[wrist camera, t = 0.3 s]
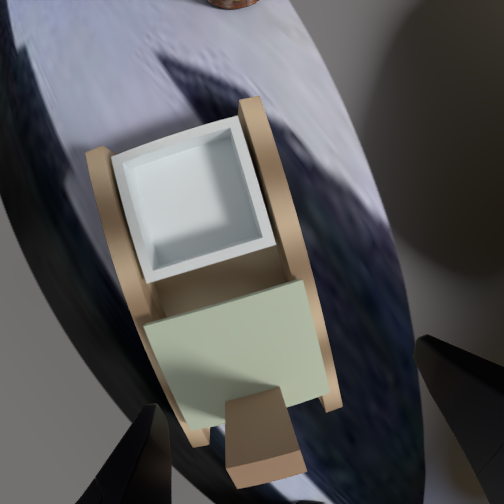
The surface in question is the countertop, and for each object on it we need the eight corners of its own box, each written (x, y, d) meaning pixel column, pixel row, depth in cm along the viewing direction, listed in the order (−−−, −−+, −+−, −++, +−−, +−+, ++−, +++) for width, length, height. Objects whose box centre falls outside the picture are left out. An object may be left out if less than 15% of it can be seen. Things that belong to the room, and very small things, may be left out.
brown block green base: (327, 388, 21) (364, 450, 14) (191, 426, 21) (182, 496, 13) (300, 278, 20) (340, 310, 13) (145, 323, 20) (107, 375, 12)
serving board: (335, 380, 26) (350, 403, 22) (189, 420, 26) (185, 448, 22) (262, 112, 23) (269, 93, 19) (98, 165, 23) (77, 156, 19)
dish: (269, 241, 24) (276, 244, 21) (156, 275, 23) (146, 283, 20) (236, 128, 23) (237, 115, 19) (125, 164, 22) (111, 156, 19)
